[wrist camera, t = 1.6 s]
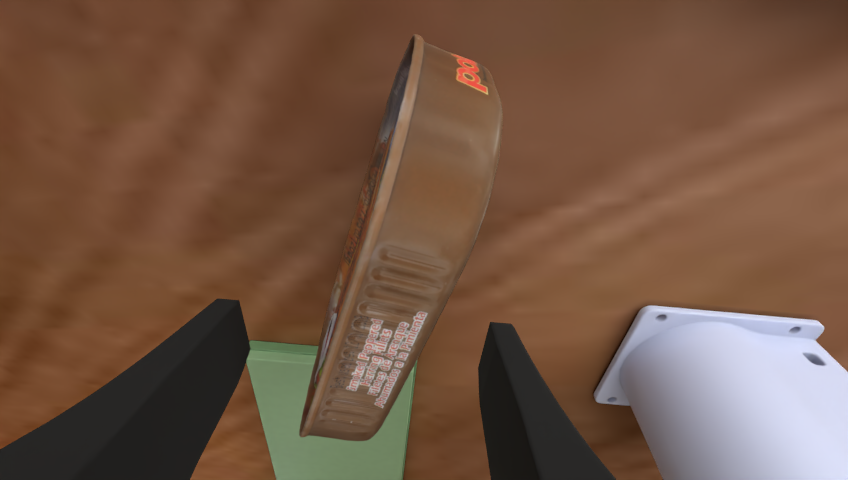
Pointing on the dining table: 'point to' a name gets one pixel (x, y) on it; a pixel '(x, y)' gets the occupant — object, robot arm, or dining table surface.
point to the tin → (405, 238)
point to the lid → (312, 455)
